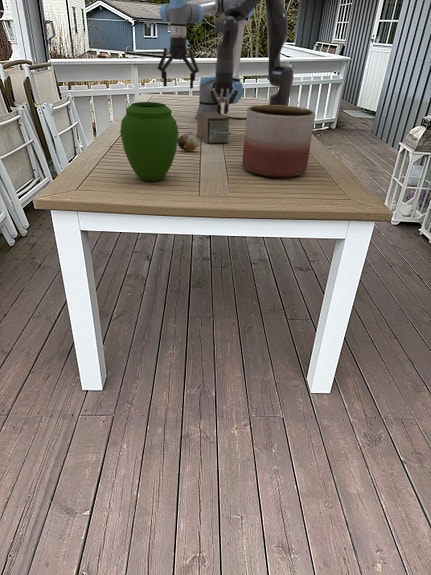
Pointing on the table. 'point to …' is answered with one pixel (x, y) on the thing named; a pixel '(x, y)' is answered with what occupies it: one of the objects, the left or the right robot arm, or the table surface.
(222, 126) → the drawer
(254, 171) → the planter
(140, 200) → the table surface
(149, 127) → the vase
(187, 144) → the seashell
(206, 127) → the long brown box
